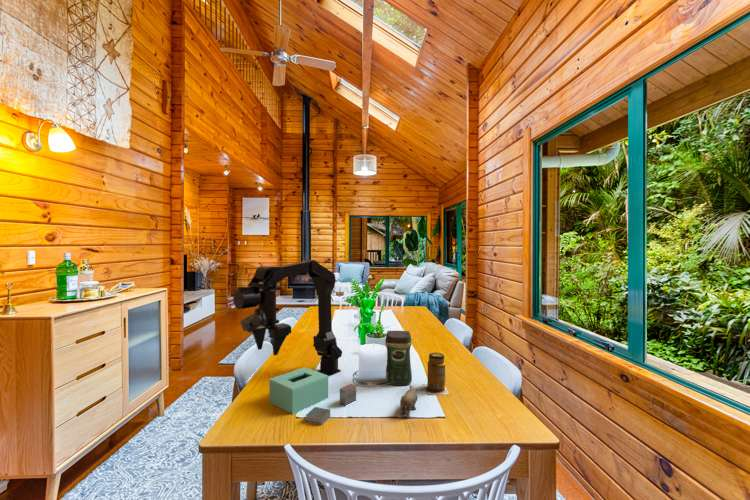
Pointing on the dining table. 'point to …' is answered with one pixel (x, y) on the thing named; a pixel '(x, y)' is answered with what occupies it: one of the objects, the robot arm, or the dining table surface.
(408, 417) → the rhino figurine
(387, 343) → the coffee jar
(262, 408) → the dining table surface
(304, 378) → the teal box
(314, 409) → the block
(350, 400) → the block
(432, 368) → the condiment
